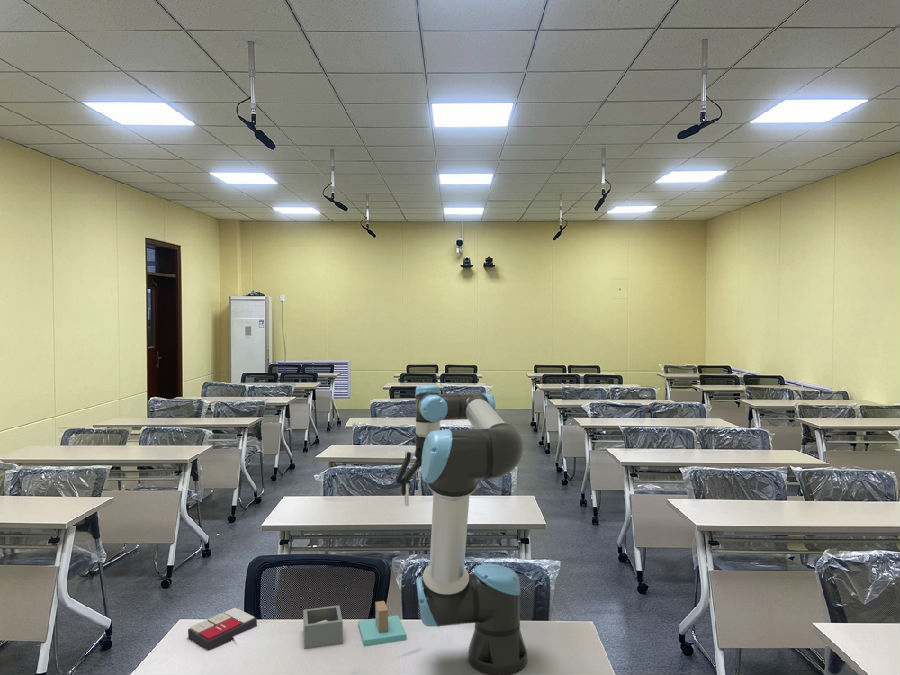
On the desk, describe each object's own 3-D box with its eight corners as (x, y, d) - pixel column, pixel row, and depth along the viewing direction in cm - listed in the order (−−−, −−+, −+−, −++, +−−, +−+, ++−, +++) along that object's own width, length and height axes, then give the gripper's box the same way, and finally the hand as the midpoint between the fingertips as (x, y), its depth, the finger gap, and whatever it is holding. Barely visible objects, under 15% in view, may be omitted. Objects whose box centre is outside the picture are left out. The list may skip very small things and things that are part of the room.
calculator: (187, 626, 167) (235, 604, 179) (187, 641, 167) (236, 618, 179) (207, 639, 160) (257, 615, 172) (208, 654, 161) (257, 630, 172)
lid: (406, 643, 164) (406, 612, 164) (363, 649, 161) (363, 618, 161) (398, 623, 175) (398, 594, 175) (358, 629, 172) (358, 599, 172)
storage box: (342, 647, 162) (342, 621, 162) (304, 652, 159) (304, 626, 159) (339, 629, 172) (339, 605, 172) (303, 634, 169) (303, 609, 169)
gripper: (463, 431, 193) (463, 497, 194) (385, 434, 187) (386, 503, 187) (469, 434, 186) (470, 503, 186) (390, 438, 180) (390, 510, 180)
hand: (428, 503), depth 187 cm, fingers open, 13 cm apart
